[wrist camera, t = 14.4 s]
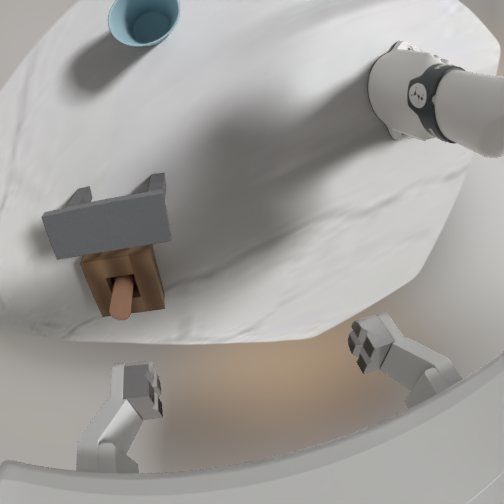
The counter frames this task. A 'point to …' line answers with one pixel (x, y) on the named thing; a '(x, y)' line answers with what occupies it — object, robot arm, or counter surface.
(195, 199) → the counter surface
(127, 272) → the socket
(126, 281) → the peg
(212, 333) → the counter surface
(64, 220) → the grey u-shaped bracket
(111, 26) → the cup
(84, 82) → the counter surface
